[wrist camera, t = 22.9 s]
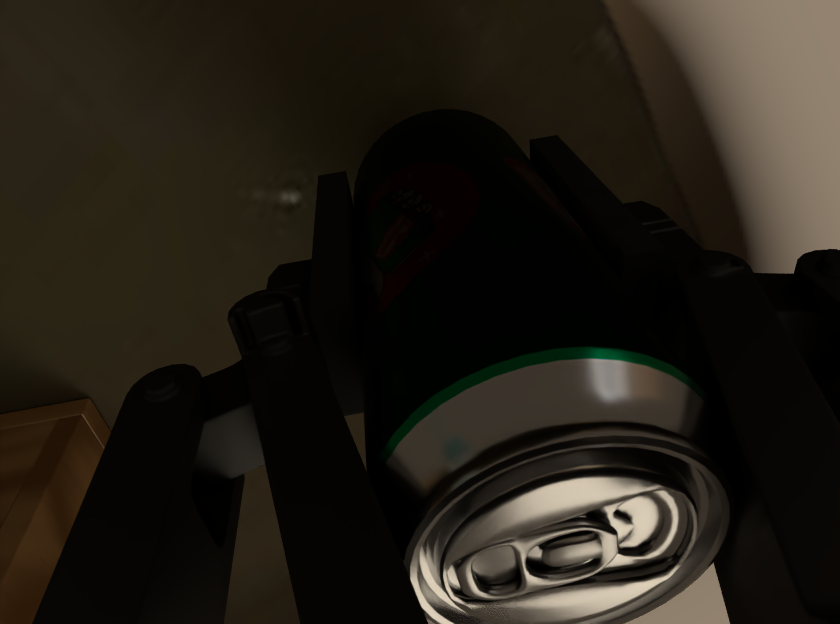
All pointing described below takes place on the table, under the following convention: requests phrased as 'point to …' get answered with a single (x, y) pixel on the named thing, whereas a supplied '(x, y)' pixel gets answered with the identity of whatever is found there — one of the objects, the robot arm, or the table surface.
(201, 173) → the table surface
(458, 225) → the soda can
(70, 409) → the chest
